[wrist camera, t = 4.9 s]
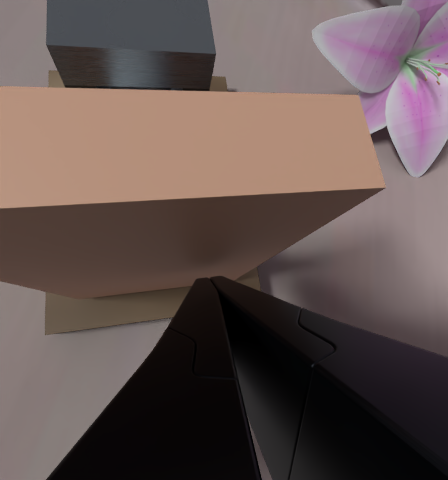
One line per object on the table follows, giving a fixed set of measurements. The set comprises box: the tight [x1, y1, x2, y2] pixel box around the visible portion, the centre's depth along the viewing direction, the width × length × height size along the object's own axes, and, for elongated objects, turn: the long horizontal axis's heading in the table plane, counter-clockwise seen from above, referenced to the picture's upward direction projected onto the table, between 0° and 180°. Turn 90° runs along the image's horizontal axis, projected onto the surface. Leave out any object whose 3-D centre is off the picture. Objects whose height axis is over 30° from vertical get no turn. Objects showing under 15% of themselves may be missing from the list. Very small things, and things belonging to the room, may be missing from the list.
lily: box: [312, 0, 448, 177], centre depth 18 cm, size 12×12×10 cm
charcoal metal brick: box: [46, 0, 216, 91], centre depth 13 cm, size 4×5×7 cm
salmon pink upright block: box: [0, 86, 386, 299], centre depth 10 cm, size 10×7×10 cm
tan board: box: [45, 71, 261, 335], centre depth 16 cm, size 14×10×1 cm
